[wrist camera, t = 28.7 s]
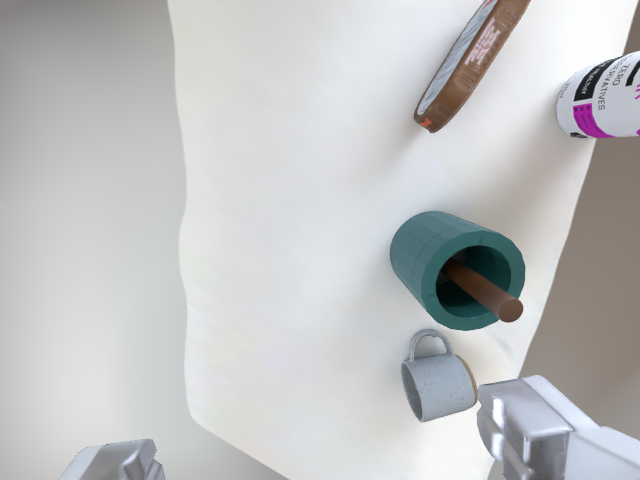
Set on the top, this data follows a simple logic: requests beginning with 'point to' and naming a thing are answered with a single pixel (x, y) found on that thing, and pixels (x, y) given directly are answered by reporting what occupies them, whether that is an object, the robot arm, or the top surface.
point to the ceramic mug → (437, 382)
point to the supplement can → (602, 100)
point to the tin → (468, 61)
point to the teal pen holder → (438, 246)
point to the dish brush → (480, 288)
